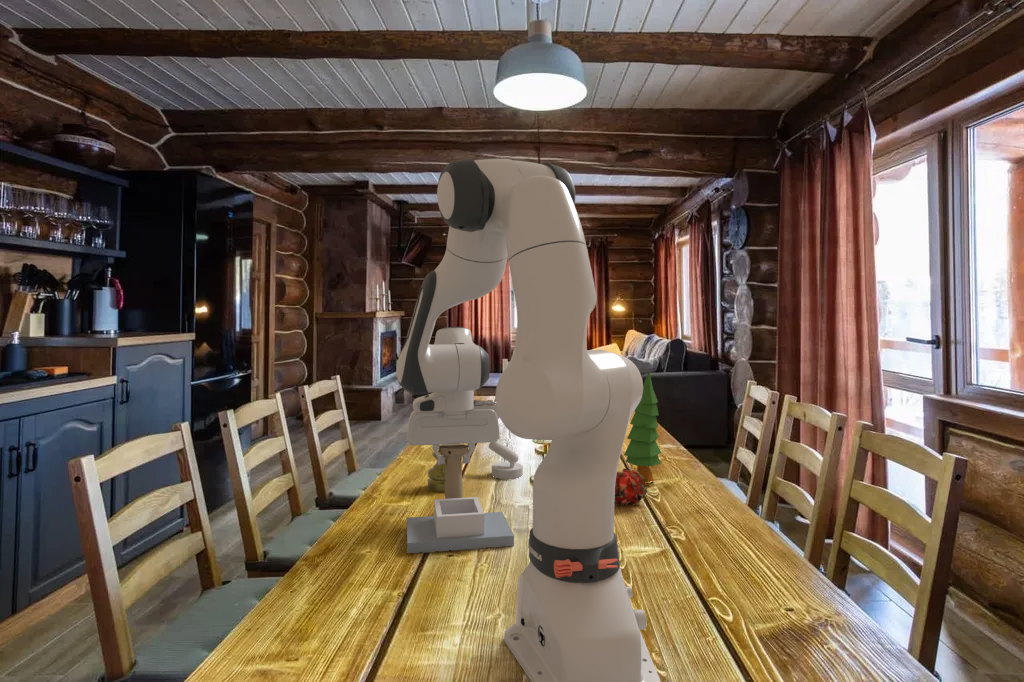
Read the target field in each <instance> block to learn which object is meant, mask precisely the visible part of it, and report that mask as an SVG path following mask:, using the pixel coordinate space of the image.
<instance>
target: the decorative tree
mask: <svg viewBox="0 0 1024 682" xmlns="http://www.w3.org/2000/svg"><path fill="white" fill-rule="evenodd" d="M658 402H659V401H658V399H657V395H656V393H655V391H654V386H653V383H652V377H651V370H648V372H647V375H646V377H645V379H644V382H643V394H642V398H641V401H640V403H639V404H638V406H637V407H636V409H635V411H634V412H635V413H633V415H632V416H633V417H631V418H632V419H631V420H630V422H629V424H630V425H632V427H631V429H630V431H629V434H628V435H627V438H626V439H628V440H630V441H629V444H628V445H627V448H626V449H625V451H624V454H623V455H624V456H627V457H626V460H625V462H626V463H627V464H628V463H629V464H631V465H633V466H636V467H637V469H636V470H637V471H638V473H639V474H640V475H642V476H643V477H644V478H645V482H650V481H654V476H653V472H652V469H651V467H655V466H658V465H661V464H662V463H661V461H660V457H659V455H660V454H662V451H661V449H660V447H659V445H658V442H657V440H658V438H659V434H658V431H657V428H659V424H658V420H657V416H659V410H658V409H659V408H658V405H657V403H658ZM654 482H655V481H654Z"/></svg>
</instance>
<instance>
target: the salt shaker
mask: <svg viewBox="0 0 1024 682" xmlns="http://www.w3.org/2000/svg"><path fill="white" fill-rule="evenodd" d="M438 452H439V449H438ZM439 453H440V452H439ZM440 455H443V454H441V453H440ZM431 456H432V457H433V458H434V459H435V460H436V463H435V464H434V465H433V466H432V467H430V468H429V469H428V471H427V477H428V479H427V489H428V490H429V491H432V492H435V491H437V493H445V475H446V457H445V460H444V461H445V464H444V465H438V457H437V456H436V454H435V452H434V451H433V452H432V455H431ZM444 456H445V455H444Z"/></svg>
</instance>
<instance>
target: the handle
mask: <svg viewBox="0 0 1024 682" xmlns="http://www.w3.org/2000/svg"><path fill="white" fill-rule="evenodd" d="M468 449H469V447H468V444H465V443H464V444H440V445H439V449H438V450H439V452H440V453H441V454H443V455H445V457H446V475H445V492H444V499H451V498H464V497H463V494H464V488H463V487H464V485H463V483H464V482H463V472H462V471H463V470H462V459H463V455H465V454H466V453H467V452H468Z"/></svg>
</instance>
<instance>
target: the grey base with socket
mask: <svg viewBox="0 0 1024 682" xmlns="http://www.w3.org/2000/svg"><path fill="white" fill-rule="evenodd" d="M406 540H407V541H406V545H407V547H406V549H407V550H406V551H407V553H413V554H420V553H419V552H423V553H436V552H435V551H439V552H451V551H462V550H463V551H464V550H477V549H478V550H479V549H487V548H486V547H492V548H502V546H505V547H514V546H515V535H514V532H513V531H512V529H511V526H510V525H509V523H508V521H507V519H506V516H505V515H504V513H503V511H491V512H489V511H488V512H484V509H483V506H482V504H481V502H480V499H479V497H478V496H471V497H470V496H469V497H463V498H451V499H445V498H438V499H436V498H435V499H433V515H432V516H431V515H430V516H429V515H428V516H415V517H413V516H412V517H406ZM449 550H451V551H449ZM423 553H422V554H423Z"/></svg>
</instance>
